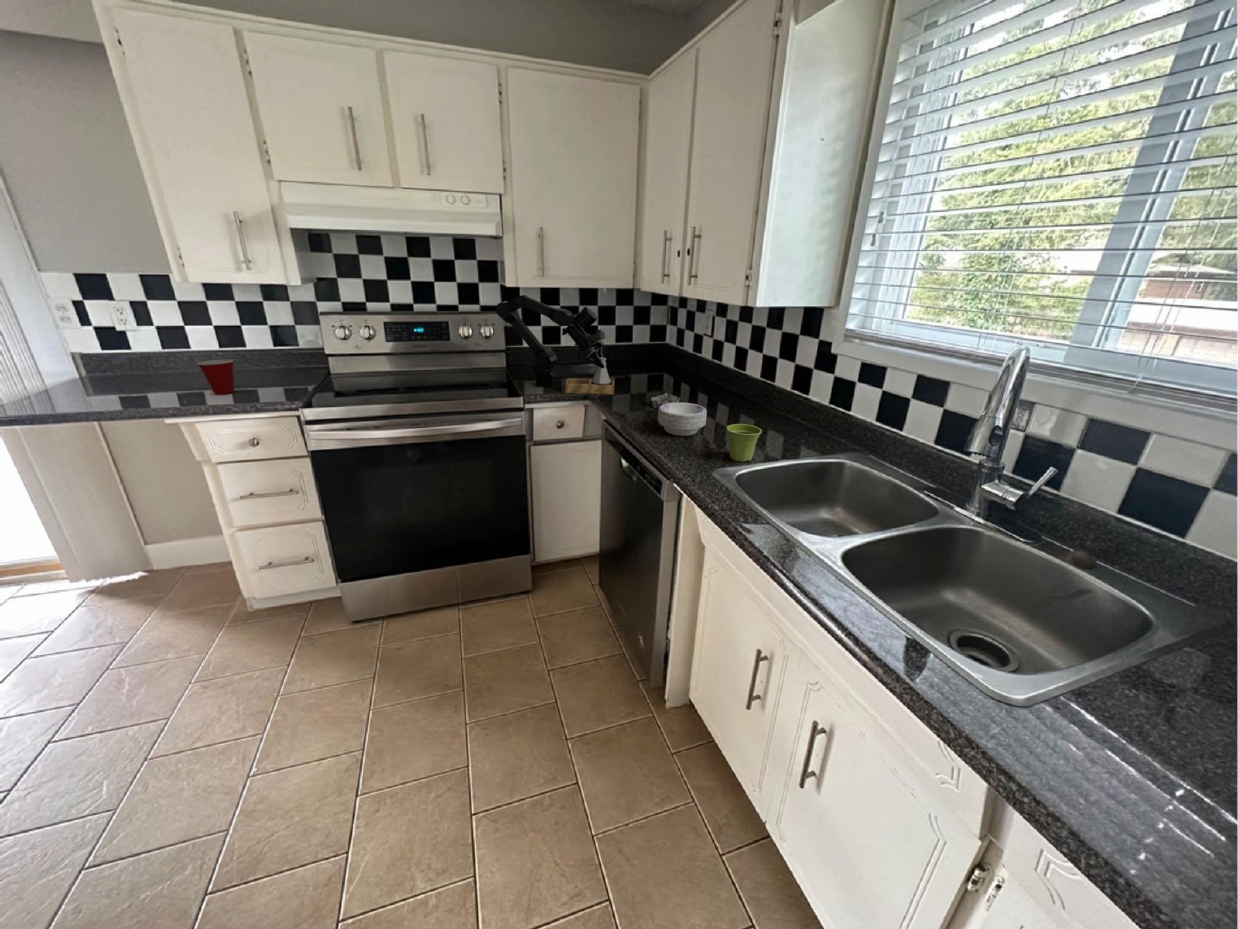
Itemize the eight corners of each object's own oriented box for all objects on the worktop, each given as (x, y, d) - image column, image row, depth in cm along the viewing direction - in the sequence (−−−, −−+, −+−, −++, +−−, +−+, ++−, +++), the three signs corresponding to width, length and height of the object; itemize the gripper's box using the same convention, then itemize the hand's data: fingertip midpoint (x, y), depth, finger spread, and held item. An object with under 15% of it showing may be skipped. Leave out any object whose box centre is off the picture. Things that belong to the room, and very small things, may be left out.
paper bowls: (654, 424, 167) (655, 401, 164) (698, 424, 169) (701, 401, 166) (660, 439, 153) (662, 414, 150) (709, 439, 155) (712, 415, 152)
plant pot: (720, 461, 138) (724, 431, 135) (726, 450, 147) (729, 422, 143) (755, 466, 135) (759, 436, 132) (759, 455, 144) (763, 426, 140)
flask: (613, 383, 205) (614, 358, 201) (599, 385, 200) (600, 360, 197) (603, 379, 210) (603, 355, 206) (589, 381, 206) (589, 357, 202)
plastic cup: (233, 387, 191) (224, 356, 186) (248, 392, 186) (239, 359, 182) (199, 393, 182) (190, 360, 178) (214, 398, 177) (205, 364, 173)
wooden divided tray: (565, 392, 201) (565, 384, 200) (567, 386, 211) (567, 378, 209) (614, 394, 202) (614, 385, 200) (613, 388, 211) (614, 379, 210)
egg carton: (665, 410, 183) (666, 400, 181) (648, 406, 187) (649, 396, 185) (681, 405, 190) (682, 394, 189) (665, 401, 195) (666, 391, 193)
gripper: (586, 325, 189) (612, 357, 190) (600, 320, 205) (625, 350, 207) (566, 345, 193) (592, 376, 195) (582, 338, 210) (606, 367, 212)
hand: (605, 366), depth 202 cm, fingers closed on flask, 3 cm apart
